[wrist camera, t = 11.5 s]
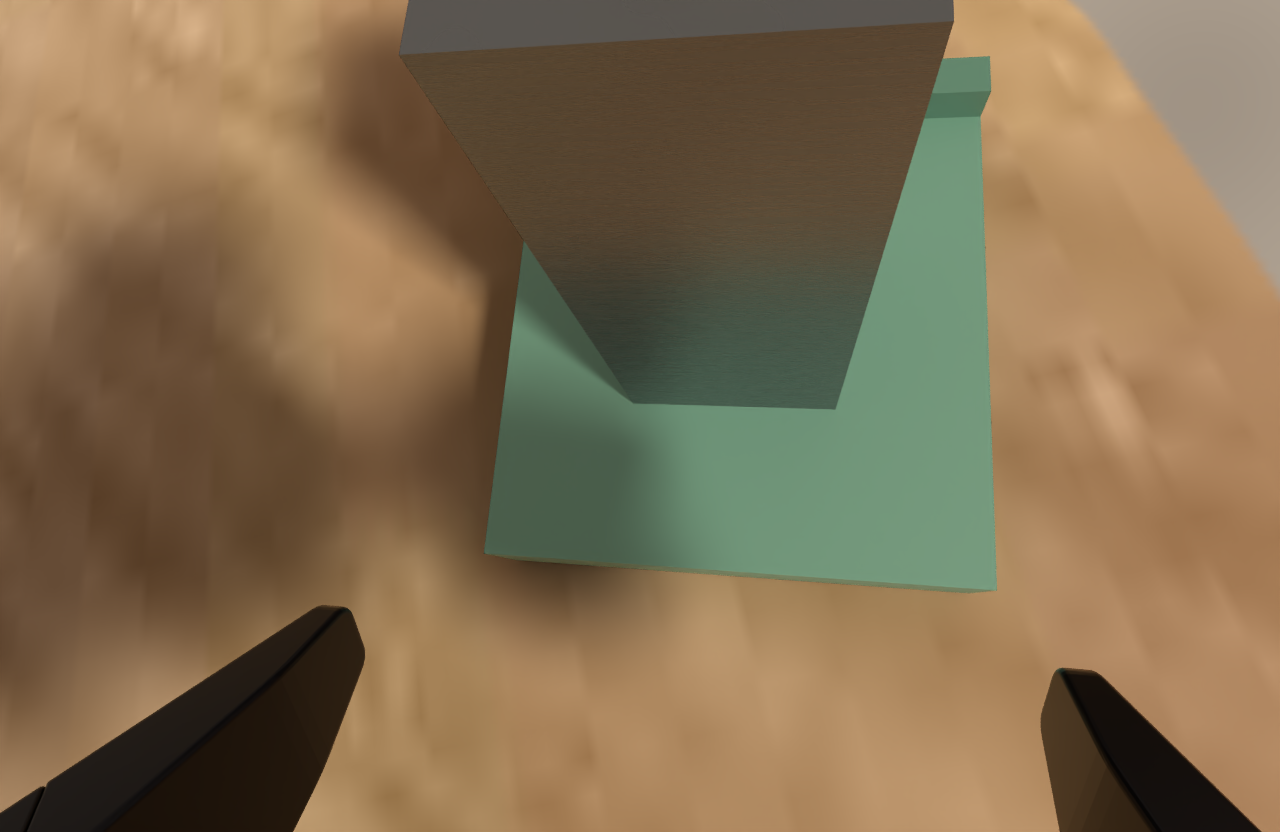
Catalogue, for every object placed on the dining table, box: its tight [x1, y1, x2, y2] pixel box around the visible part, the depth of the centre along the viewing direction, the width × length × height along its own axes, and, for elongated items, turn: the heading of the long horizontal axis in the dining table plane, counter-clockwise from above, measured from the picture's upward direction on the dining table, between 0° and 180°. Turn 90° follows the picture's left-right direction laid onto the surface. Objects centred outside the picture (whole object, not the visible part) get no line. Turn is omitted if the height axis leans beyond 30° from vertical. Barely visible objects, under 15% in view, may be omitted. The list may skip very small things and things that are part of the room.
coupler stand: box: [484, 56, 997, 593], centre depth 20 cm, size 13×12×4 cm
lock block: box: [399, 0, 954, 410], centre depth 13 cm, size 5×5×13 cm
